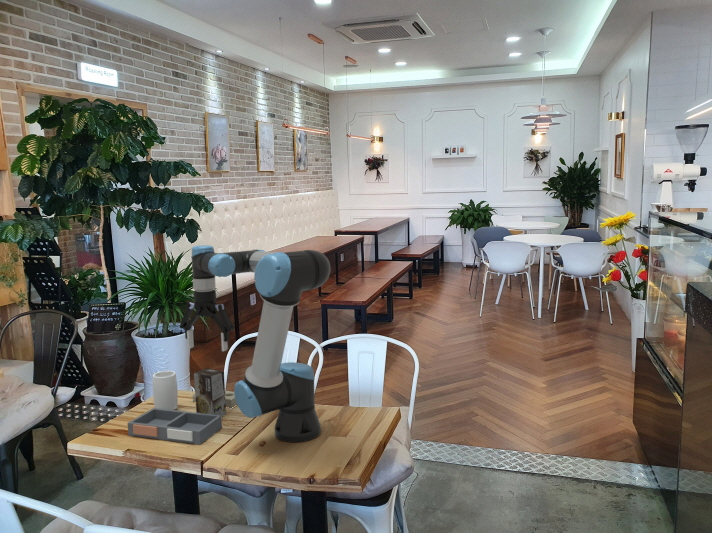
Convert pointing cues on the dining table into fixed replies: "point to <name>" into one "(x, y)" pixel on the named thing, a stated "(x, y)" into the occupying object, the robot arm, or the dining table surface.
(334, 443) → the dining table surface
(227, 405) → the electrical outlet
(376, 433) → the dining table surface
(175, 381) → the cup
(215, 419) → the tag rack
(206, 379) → the coffee box
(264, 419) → the dining table surface
